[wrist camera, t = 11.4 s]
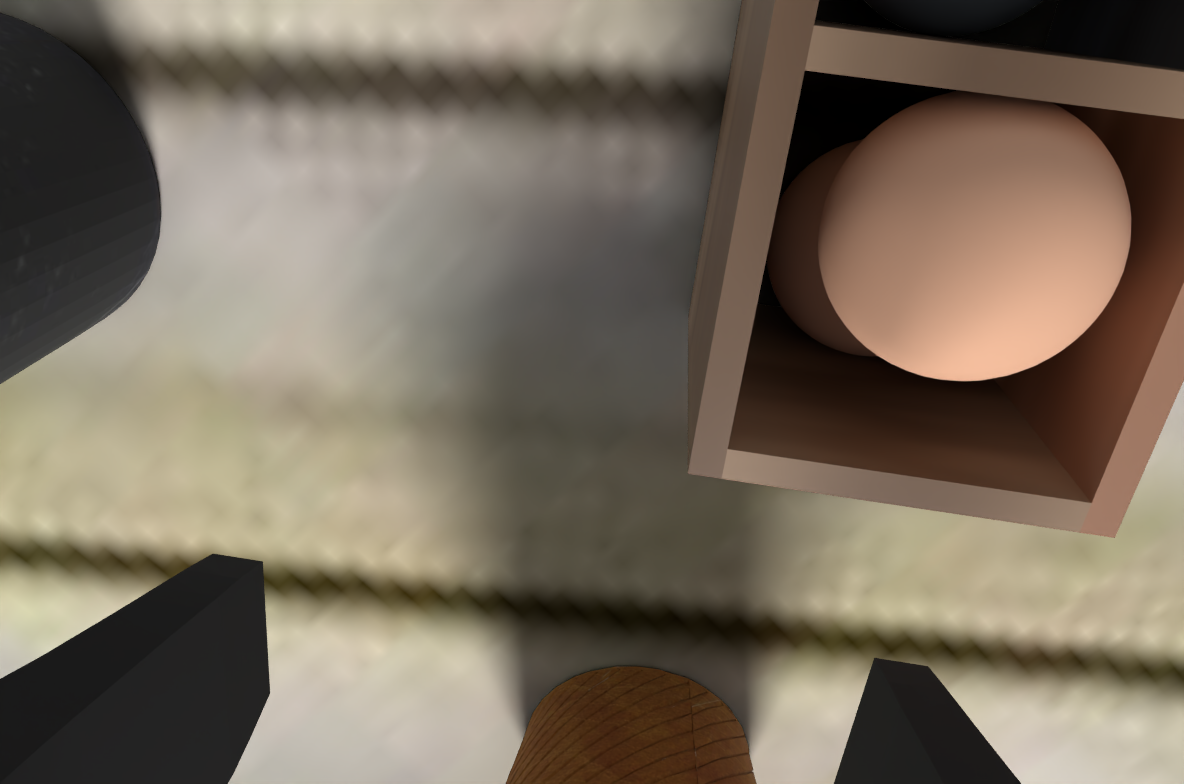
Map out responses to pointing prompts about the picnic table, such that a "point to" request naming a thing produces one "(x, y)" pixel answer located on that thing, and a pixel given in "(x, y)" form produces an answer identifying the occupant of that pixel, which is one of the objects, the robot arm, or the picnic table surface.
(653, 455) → the picnic table surface
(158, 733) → the robot arm
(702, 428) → the divided wooden sorting box
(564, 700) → the disposable coffee cup
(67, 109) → the travel mug
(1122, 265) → the terracotta ball
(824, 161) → the terracotta ball in well
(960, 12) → the charcoal ball in well
